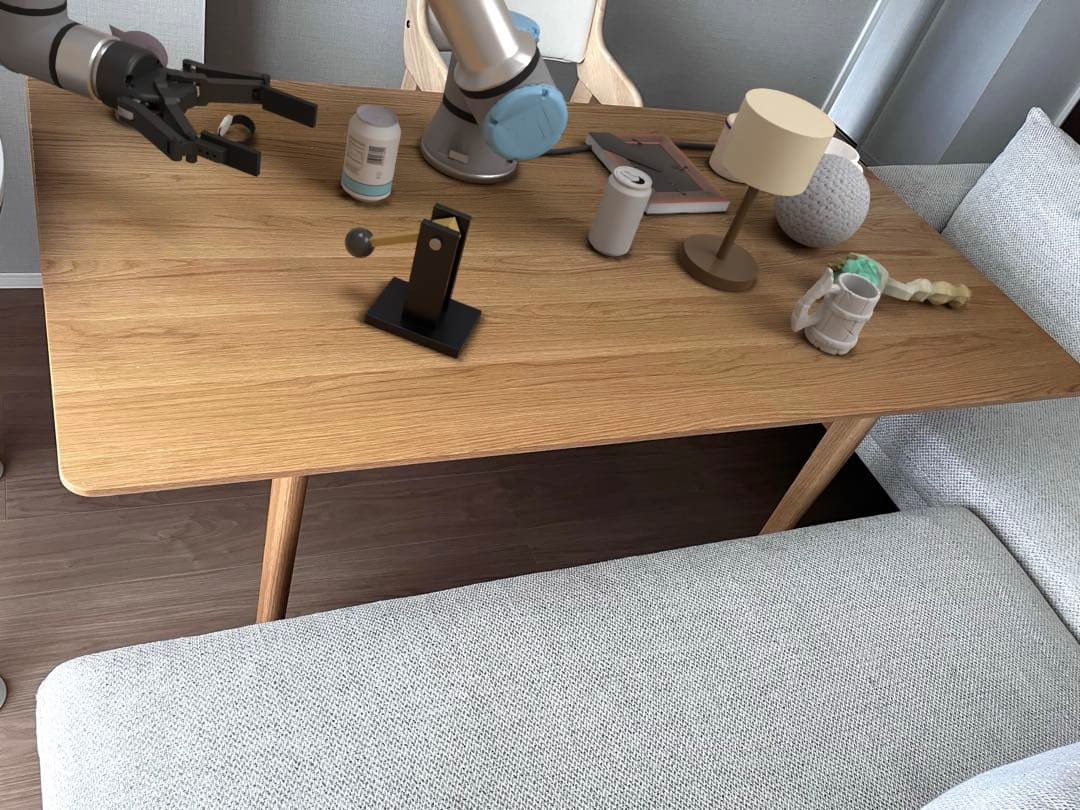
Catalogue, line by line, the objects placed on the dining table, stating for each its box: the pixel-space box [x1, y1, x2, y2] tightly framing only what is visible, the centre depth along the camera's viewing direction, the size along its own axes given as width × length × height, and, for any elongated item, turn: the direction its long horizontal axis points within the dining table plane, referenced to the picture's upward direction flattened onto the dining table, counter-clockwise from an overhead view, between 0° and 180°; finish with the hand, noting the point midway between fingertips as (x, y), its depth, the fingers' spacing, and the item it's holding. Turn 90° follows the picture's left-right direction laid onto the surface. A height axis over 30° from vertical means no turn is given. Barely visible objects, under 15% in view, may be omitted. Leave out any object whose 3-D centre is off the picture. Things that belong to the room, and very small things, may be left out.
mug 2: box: [790, 266, 881, 356], centre depth 129 cm, size 8×12×12 cm, turn 102°
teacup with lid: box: [708, 112, 745, 184], centre depth 164 cm, size 12×9×12 cm
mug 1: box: [824, 136, 864, 174], centre depth 164 cm, size 11×9×10 cm
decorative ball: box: [773, 154, 871, 248], centre depth 150 cm, size 15×15×15 cm
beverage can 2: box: [588, 166, 652, 257], centre depth 132 cm, size 6×6×12 cm
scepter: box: [826, 252, 973, 308], centre depth 146 cm, size 9×8×30 cm
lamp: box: [679, 87, 837, 293], centre depth 132 cm, size 13×13×26 cm
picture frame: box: [584, 131, 731, 215], centre depth 156 cm, size 16×2×22 cm
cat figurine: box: [108, 24, 169, 128], centre depth 124 cm, size 8×8×12 cm
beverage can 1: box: [340, 104, 402, 203], centre depth 125 cm, size 7×7×12 cm
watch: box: [216, 113, 257, 147], centre depth 129 cm, size 8×5×4 cm, turn 169°
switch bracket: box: [363, 202, 483, 359], centre depth 107 cm, size 12×9×15 cm
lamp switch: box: [344, 217, 461, 259], centre depth 106 cm, size 14×4×4 cm
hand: (289, 139), depth 102 cm, fingers open, 13 cm apart
